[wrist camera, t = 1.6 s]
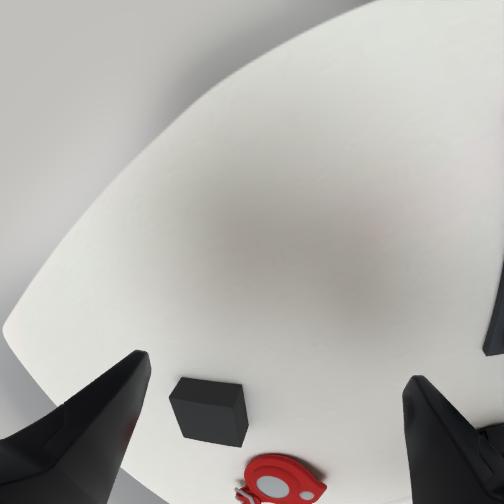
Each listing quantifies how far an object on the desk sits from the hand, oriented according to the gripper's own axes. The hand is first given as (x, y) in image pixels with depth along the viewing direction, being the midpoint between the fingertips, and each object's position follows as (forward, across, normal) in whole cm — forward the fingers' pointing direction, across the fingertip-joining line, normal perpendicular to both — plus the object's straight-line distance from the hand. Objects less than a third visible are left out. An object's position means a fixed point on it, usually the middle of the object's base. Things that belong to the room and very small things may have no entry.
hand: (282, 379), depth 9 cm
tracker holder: (+9, -3, +30) cm, 31 cm away
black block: (+11, +4, +18) cm, 22 cm away
